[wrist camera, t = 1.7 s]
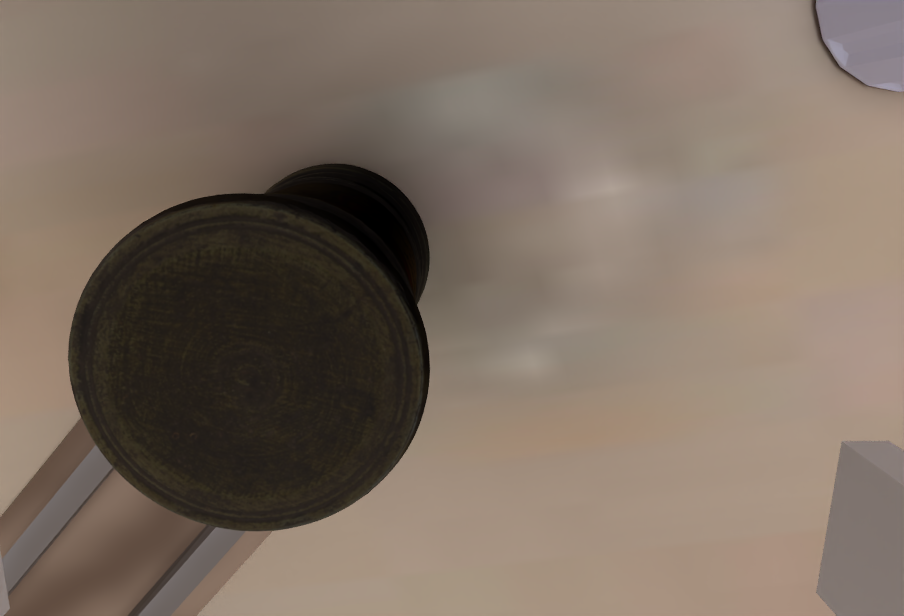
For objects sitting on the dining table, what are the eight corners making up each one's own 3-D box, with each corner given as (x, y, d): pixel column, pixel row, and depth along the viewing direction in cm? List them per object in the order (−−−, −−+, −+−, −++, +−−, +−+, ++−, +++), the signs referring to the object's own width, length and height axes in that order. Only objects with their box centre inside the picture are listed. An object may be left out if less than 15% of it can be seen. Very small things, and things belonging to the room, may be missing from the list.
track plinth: (-89, 631, 37) (-149, 688, 33) (176, 304, 33) (144, 325, 29) (84, 735, 39) (46, 800, 35) (350, 438, 35) (341, 474, 31)
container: (270, 360, 34) (116, 584, 17) (223, 183, 32) (-9, 227, 15) (444, 326, 34) (472, 515, 17) (409, 147, 32) (400, 149, 15)
